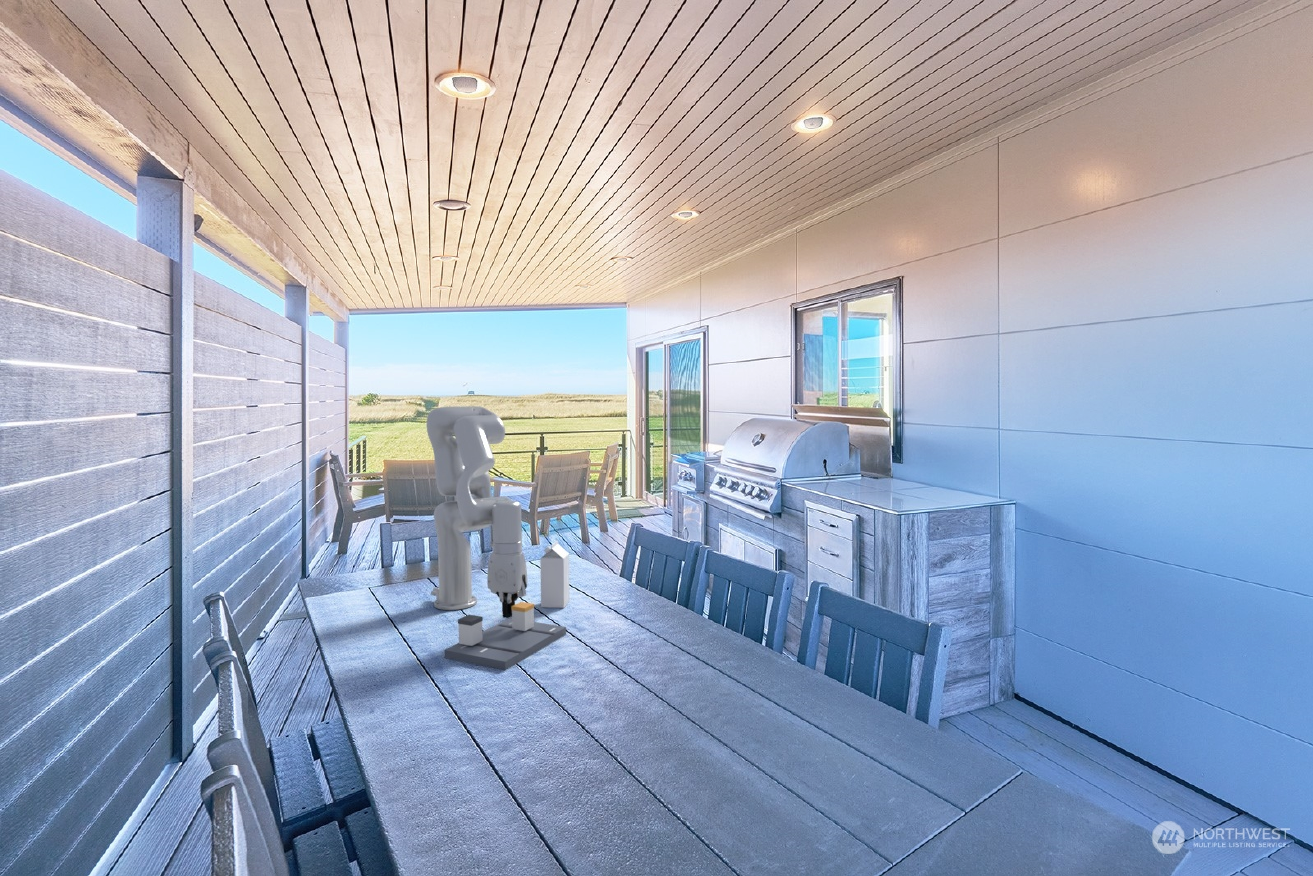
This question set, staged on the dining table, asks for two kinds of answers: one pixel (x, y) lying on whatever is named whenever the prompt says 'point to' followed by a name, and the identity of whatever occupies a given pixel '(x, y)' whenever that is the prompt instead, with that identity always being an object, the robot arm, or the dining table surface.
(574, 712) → the dining table surface
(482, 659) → the console
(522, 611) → the fader orange
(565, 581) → the milk carton
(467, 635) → the block
